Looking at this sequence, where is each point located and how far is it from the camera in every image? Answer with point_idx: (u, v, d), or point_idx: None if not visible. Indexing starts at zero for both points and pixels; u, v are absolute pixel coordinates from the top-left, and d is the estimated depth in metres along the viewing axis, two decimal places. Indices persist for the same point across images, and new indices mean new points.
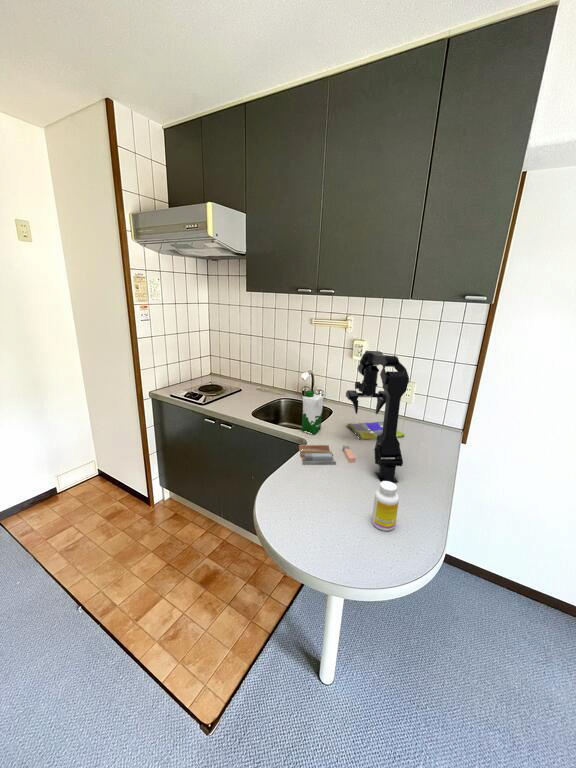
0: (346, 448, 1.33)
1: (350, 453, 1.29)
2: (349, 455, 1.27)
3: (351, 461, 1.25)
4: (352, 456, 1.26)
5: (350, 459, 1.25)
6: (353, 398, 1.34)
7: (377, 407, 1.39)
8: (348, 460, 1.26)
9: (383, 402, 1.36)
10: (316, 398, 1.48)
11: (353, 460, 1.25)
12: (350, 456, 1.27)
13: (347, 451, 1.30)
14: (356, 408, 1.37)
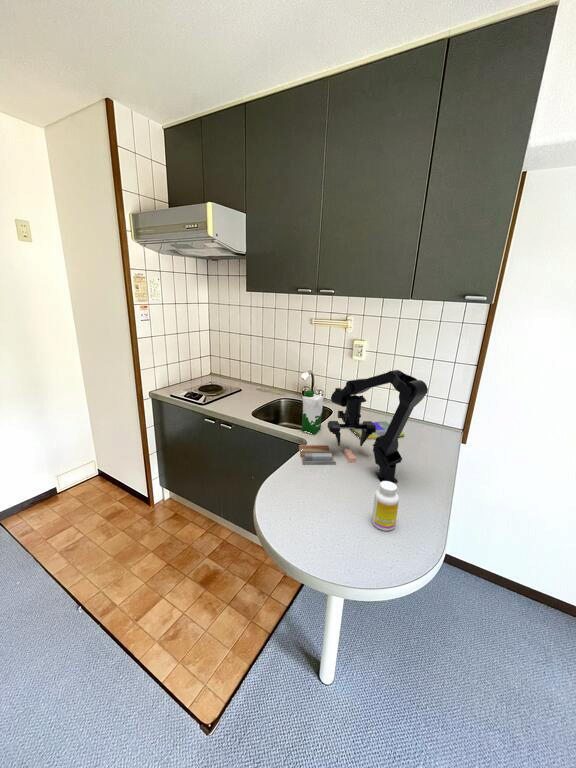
0: (346, 448, 1.33)
1: (350, 453, 1.29)
2: (349, 455, 1.27)
3: (351, 461, 1.25)
4: (352, 456, 1.26)
5: (350, 459, 1.25)
6: (335, 430, 1.24)
7: (361, 439, 1.29)
8: (348, 460, 1.26)
9: (367, 434, 1.25)
10: (316, 398, 1.48)
11: (353, 460, 1.25)
12: (350, 456, 1.27)
13: (347, 451, 1.30)
14: (338, 440, 1.27)
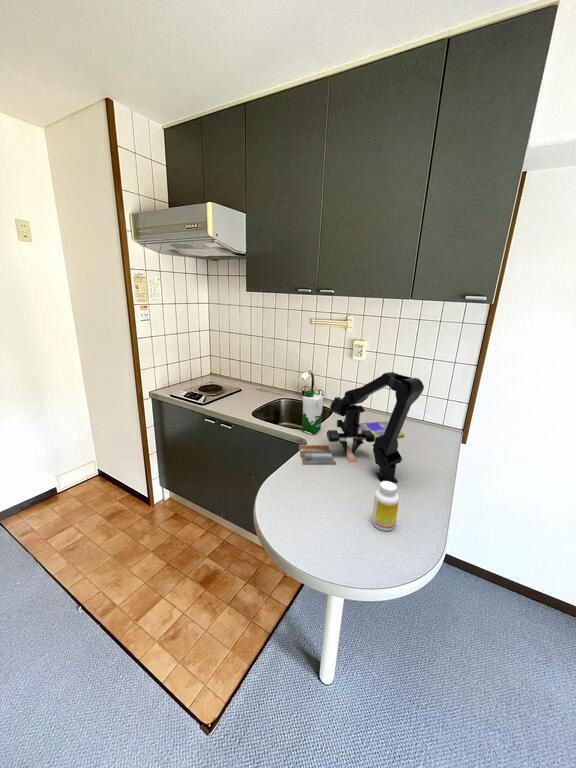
0: None
1: (350, 453, 1.29)
2: (349, 455, 1.27)
3: (351, 461, 1.25)
4: (352, 456, 1.26)
5: (350, 459, 1.25)
6: (334, 440, 1.25)
7: (352, 448, 1.29)
8: (348, 460, 1.26)
9: (358, 444, 1.26)
10: (316, 398, 1.48)
11: (353, 460, 1.25)
12: (350, 455, 1.27)
13: (347, 451, 1.30)
14: (345, 450, 1.28)
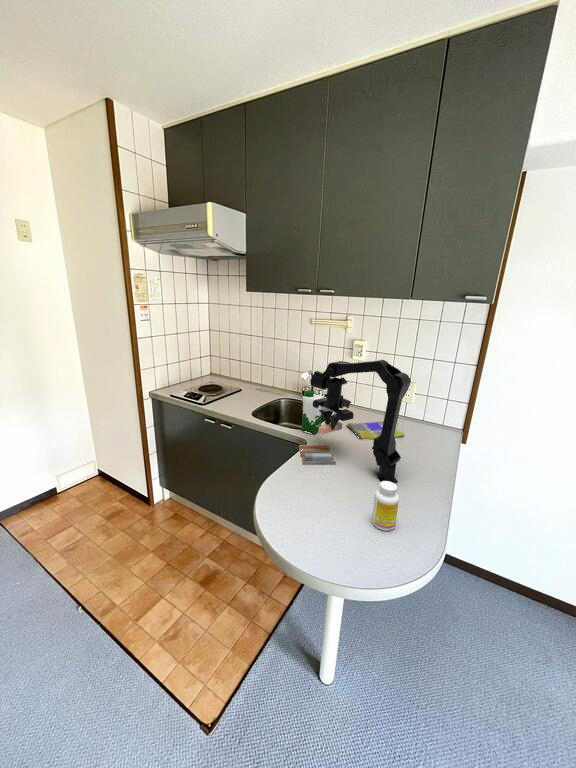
0: None
1: (328, 426, 1.28)
2: (323, 426, 1.28)
3: (320, 430, 1.27)
4: (324, 427, 1.27)
5: (319, 428, 1.27)
6: (314, 405, 1.32)
7: None
8: None
9: (331, 417, 1.24)
10: (316, 398, 1.48)
11: (321, 430, 1.26)
12: (323, 426, 1.28)
13: (330, 424, 1.30)
14: (324, 420, 1.30)
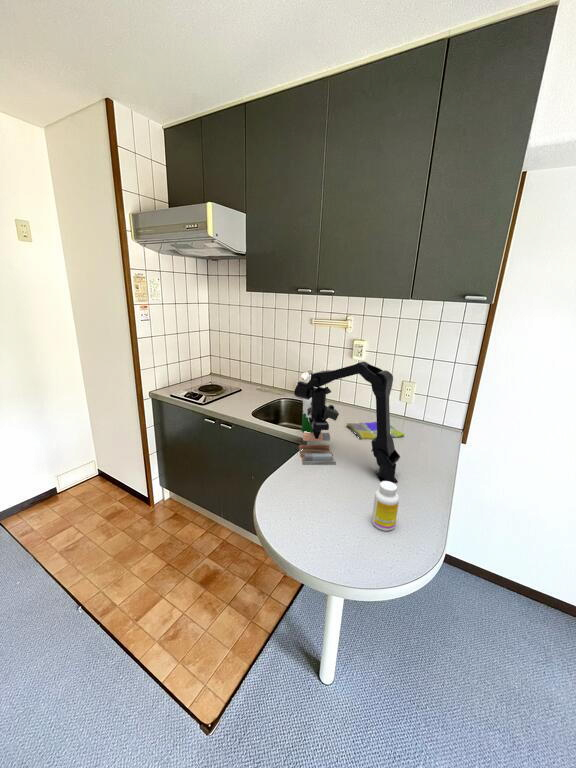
0: (323, 433, 1.32)
1: (313, 434, 1.31)
2: (308, 433, 1.32)
3: (303, 436, 1.31)
4: (307, 434, 1.31)
5: (303, 434, 1.32)
6: (307, 412, 1.36)
7: None
8: None
9: (311, 425, 1.27)
10: None
11: (303, 436, 1.31)
12: (307, 433, 1.31)
13: None
14: None
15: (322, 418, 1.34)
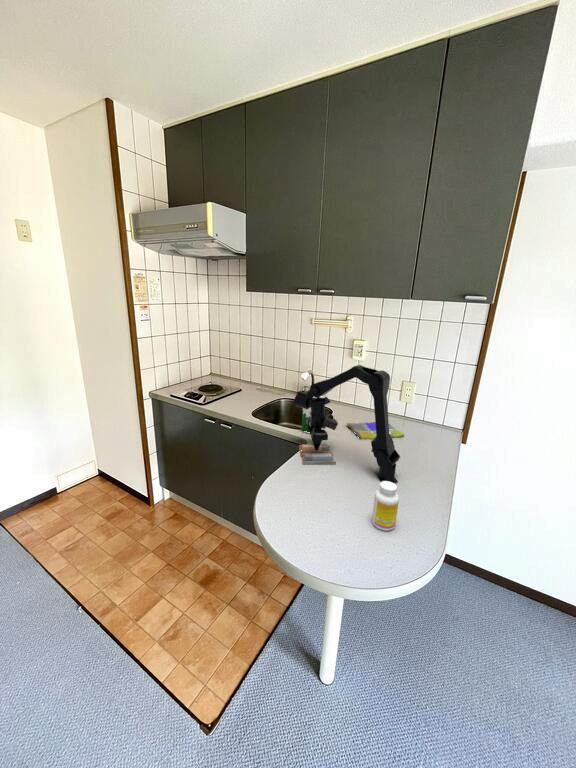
0: (322, 445, 1.33)
1: (312, 446, 1.32)
2: (307, 444, 1.33)
3: (302, 448, 1.33)
4: (306, 446, 1.32)
5: (302, 446, 1.33)
6: None
7: None
8: None
9: (311, 437, 1.26)
10: None
11: (302, 448, 1.32)
12: (306, 445, 1.33)
13: None
14: None
15: None
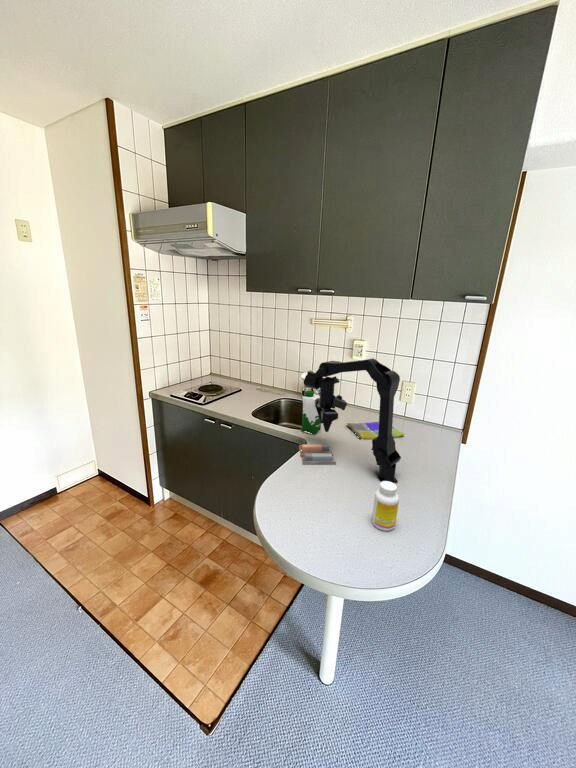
0: (322, 445, 1.33)
1: (312, 446, 1.32)
2: (307, 444, 1.33)
3: (302, 448, 1.33)
4: (306, 446, 1.32)
5: (302, 446, 1.33)
6: (315, 403, 1.37)
7: None
8: None
9: (321, 418, 1.24)
10: (316, 398, 1.48)
11: (302, 448, 1.32)
12: (306, 445, 1.33)
13: (315, 445, 1.33)
14: None
15: None
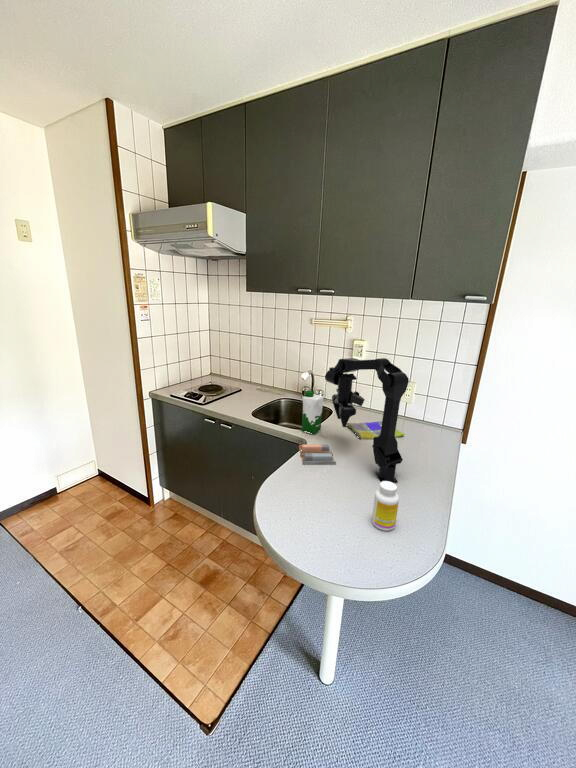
0: (322, 445, 1.33)
1: (312, 446, 1.32)
2: (307, 444, 1.33)
3: (302, 448, 1.33)
4: (306, 446, 1.32)
5: (302, 446, 1.33)
6: (332, 399, 1.40)
7: None
8: None
9: (339, 413, 1.27)
10: (316, 398, 1.48)
11: (302, 448, 1.32)
12: (306, 445, 1.33)
13: (315, 445, 1.33)
14: None
15: None
